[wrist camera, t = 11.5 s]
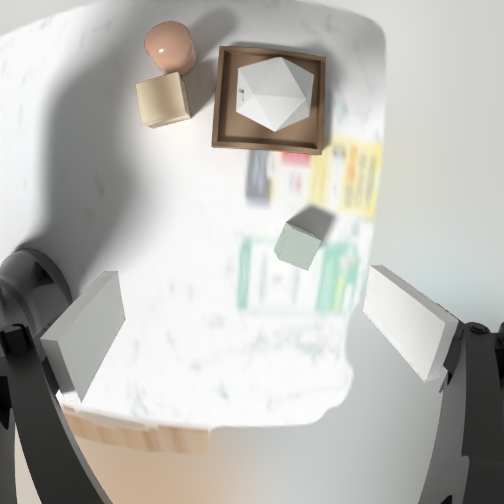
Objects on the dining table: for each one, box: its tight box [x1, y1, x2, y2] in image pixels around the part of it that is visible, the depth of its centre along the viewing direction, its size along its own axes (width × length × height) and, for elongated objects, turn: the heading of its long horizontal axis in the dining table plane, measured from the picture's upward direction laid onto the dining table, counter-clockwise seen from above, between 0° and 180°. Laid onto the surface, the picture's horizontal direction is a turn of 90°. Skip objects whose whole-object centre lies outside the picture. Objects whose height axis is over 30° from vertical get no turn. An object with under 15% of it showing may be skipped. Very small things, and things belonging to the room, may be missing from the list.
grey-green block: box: [274, 222, 322, 270], centre depth 37 cm, size 4×4×4 cm
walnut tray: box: [212, 46, 326, 155], centre depth 33 cm, size 13×13×2 cm
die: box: [236, 57, 314, 132], centre depth 29 cm, size 8×9×10 cm
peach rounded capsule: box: [145, 21, 196, 76], centre depth 28 cm, size 5×5×7 cm
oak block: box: [136, 72, 191, 129], centre depth 31 cm, size 5×5×5 cm
